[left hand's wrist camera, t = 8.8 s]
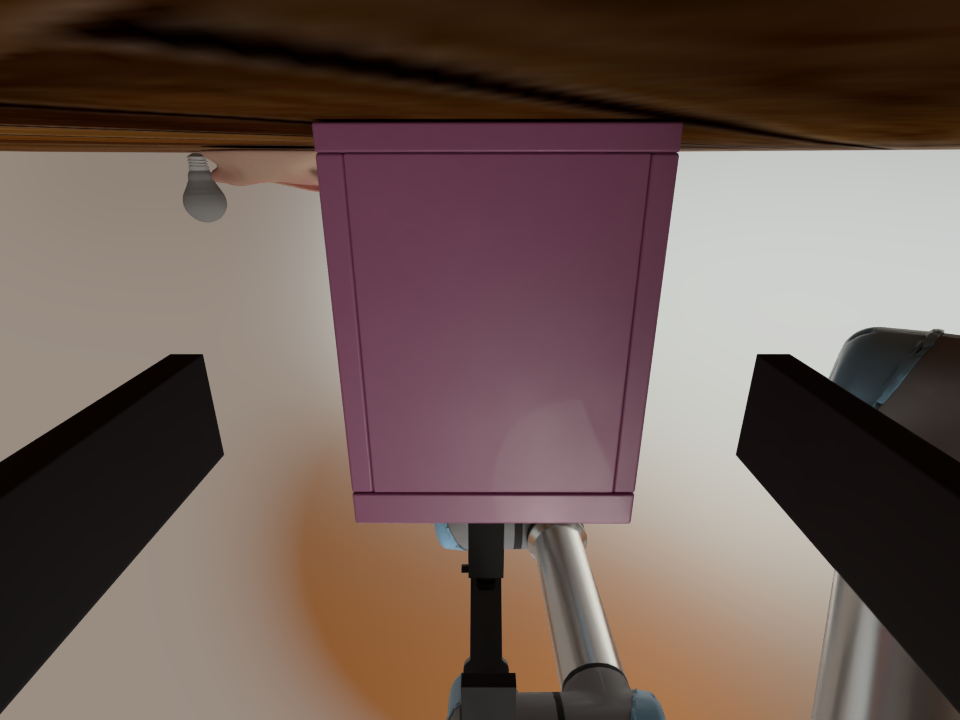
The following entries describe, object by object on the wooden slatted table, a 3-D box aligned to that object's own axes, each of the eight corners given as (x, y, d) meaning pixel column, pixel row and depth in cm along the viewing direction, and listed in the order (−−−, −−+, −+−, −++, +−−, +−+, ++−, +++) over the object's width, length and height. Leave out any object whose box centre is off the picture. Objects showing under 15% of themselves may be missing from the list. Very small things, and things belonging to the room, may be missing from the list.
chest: (585, 138, 25) (570, 352, 29) (394, 138, 25) (406, 351, 29) (684, 121, 13) (635, 493, 17) (310, 121, 13) (351, 492, 17)
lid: (569, 349, 30) (560, 481, 33) (407, 349, 30) (414, 481, 33) (635, 494, 17) (609, 685, 20) (351, 494, 17) (372, 684, 20)
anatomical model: (201, 203, 40) (350, 199, 44) (191, 148, 39) (346, 149, 43) (215, 193, 52) (332, 190, 56) (207, 150, 50) (328, 151, 54)
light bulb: (208, 153, 74) (221, 224, 78) (224, 153, 80) (235, 219, 83) (165, 153, 74) (180, 224, 77) (184, 153, 79) (197, 220, 83)
